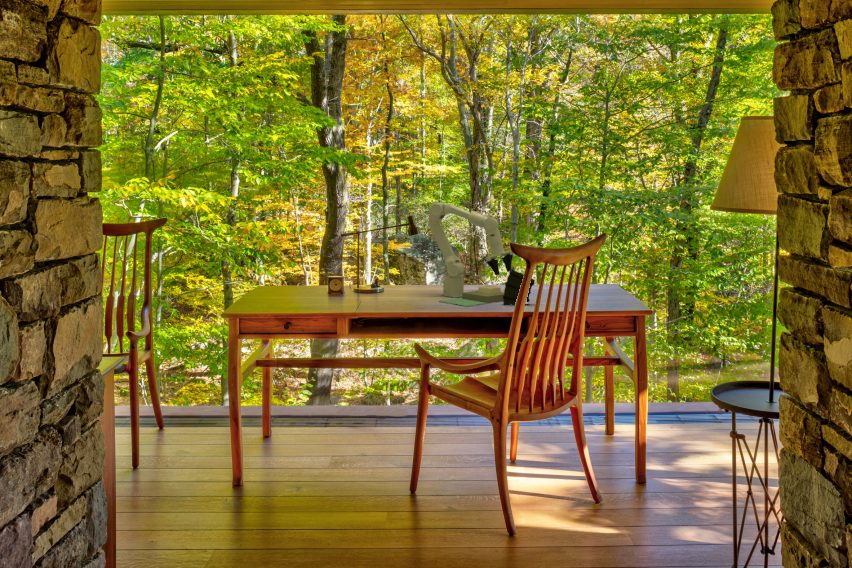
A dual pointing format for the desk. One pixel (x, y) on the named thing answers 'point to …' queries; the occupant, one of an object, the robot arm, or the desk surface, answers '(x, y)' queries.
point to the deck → (483, 297)
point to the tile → (489, 289)
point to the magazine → (514, 287)
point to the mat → (463, 302)
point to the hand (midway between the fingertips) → (503, 273)
